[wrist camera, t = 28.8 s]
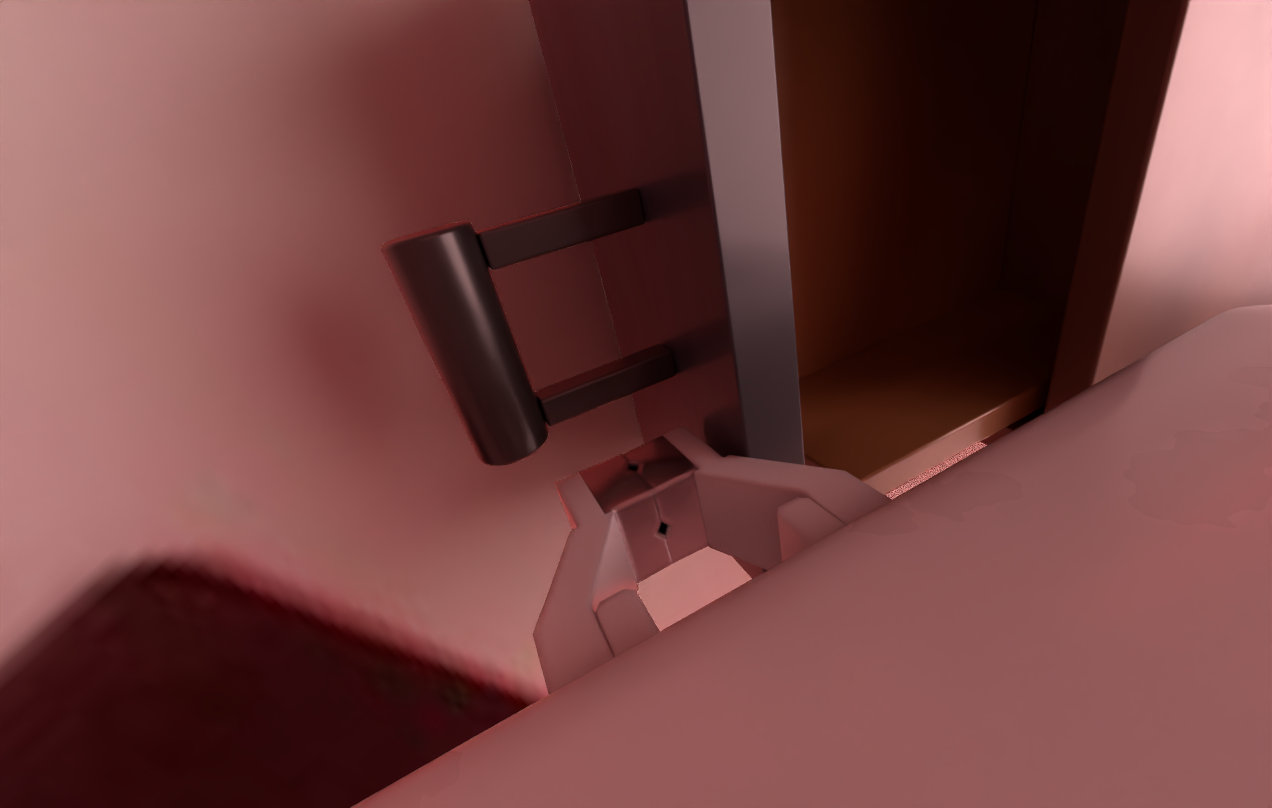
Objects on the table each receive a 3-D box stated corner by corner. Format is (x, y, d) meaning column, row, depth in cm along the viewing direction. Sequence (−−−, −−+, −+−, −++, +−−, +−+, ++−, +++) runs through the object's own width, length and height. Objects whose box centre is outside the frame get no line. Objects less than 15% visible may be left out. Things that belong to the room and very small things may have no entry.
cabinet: (832, 381, 18) (1068, 479, 11) (814, -109, 12) (1312, -500, 5) (1096, 260, 22) (1380, 282, 16) (1188, -151, 16) (1728, -399, 9)
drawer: (520, 526, 14) (580, 705, 9) (272, -25, 8) (39, -403, 3) (978, 316, 19) (1182, 355, 14) (1027, -118, 13) (1410, -320, 8)
